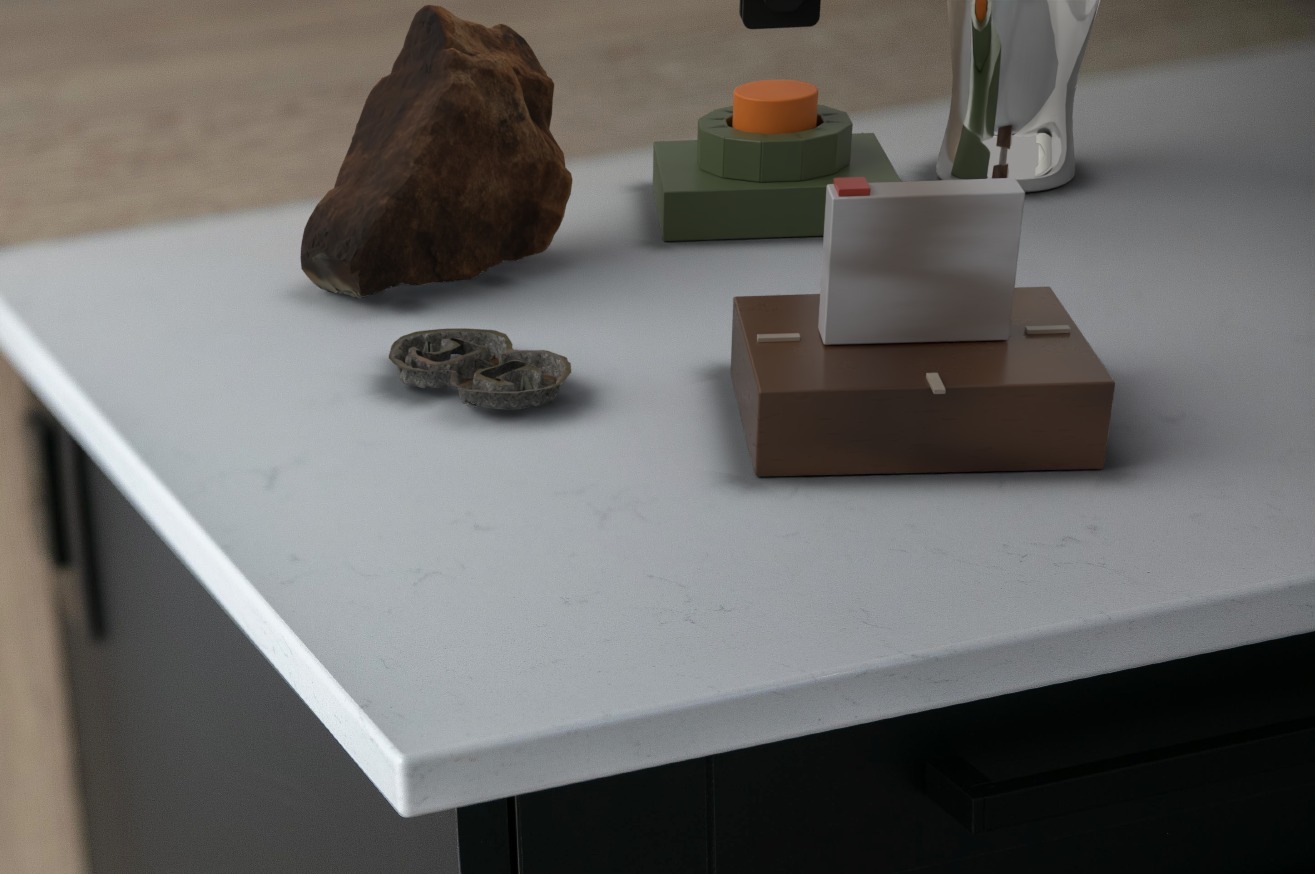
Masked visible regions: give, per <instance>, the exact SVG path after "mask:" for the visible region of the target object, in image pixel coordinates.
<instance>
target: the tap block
mask: <svg viewBox="0 0 1315 874" xmlns="http://www.w3.org/2000/svg"><path fill="white" fill-rule="evenodd" d="M819 306H820V293H804V294H803V293H801V294H771V295H769V294H767V295H743V296H742V295H740V296H733V298H732V323H731V324H732V325H731V326H732V327H731V328H732V329H731V345H730V347H731V349H730V377H731V382H732V385H733V389H734V393H735V397H736V402H737V406H738V411H739V414H740V420H741V423H742V427H743V431H744V435H745V439H746V445H747V447H748V452H749V457H750V460H751V465H752V468H753V473H754V476H755V477H760V478H761V477H799V476H801V477H802V476H841V475H842V476H843V475H847V476H848V475H888V474H889V475H891V474H933V473H935V474H937V473H974V472H975V473H976V472H978V473H979V472H1015V471H1017V472H1019V471H1022V472H1023V471H1054V470H1055V471H1061V470H1062V471H1063V470H1064V471H1065V470H1066V471H1067V470H1068V471H1069V470H1102V469H1104V468H1105V461H1106V455H1107V448H1108V440H1109V433H1110V427H1111V426H1110V425H1111V420H1112V411H1113V404H1114V399H1115V398H1114V397H1115V390H1116V382H1115V379H1114V378H1113V377H1112V375H1111V373H1110V372H1109V371H1108V369H1107V368H1106V367H1105V365H1104V364H1103V362H1102V361H1101V359H1100V358H1099V356H1098V355H1097V353H1096V352H1095V349H1093V347H1092V346H1091V345H1090V343H1089V341H1087V339H1086V337H1085V336H1084V334H1083V333H1082V332H1081V330H1080V328H1079V327H1078V325H1077V324H1076V322H1075V321H1074V320H1073V318H1072V316H1071V315H1070V314H1069V313H1068V311H1067V310H1066V308H1065V306H1064V305H1063V304H1062V302H1061V301H1060V299H1059V298H1058V296H1057V295H1056V293H1055V291H1054V290H1053V289H1052V287H1051V286H1023V287H1022V286H1021V287H1017V286H1016V287H1015V289H1014V298H1013V307H1012V316H1011V325H1010V334H1009V339H1008V340H993V341H954V342H915V343H876V344H838V345H824V343H823V340H822V337H821V334H820V331H819V328H818V322H819Z"/></svg>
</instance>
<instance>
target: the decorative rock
mask: <svg viewBox="0 0 1315 874" xmlns="http://www.w3.org/2000/svg"><path fill="white" fill-rule="evenodd" d="M410 22H411V23H410V25H409V29H408V31H407V33H406V35H405V38H404V42H403V45H402V49H401V50H400V52H399V54H398V56H396V58H395V61H394V62H393V65H392V68H391V72H390V74H388V75H385V76H383V77H381V78H380V79H379V80H378V81H377V82H376V84H375V85H374V86H373V87H372V88H371V90H370V91H369V93H368V94H367V98H366V99H365V102H364V104H363V107H362V109H361V113H360V116H359V117H358V118H359V119H358V121H357V123H356V125H355V129H354V133H353V135H352V137H351V142H350V144H349V147H348V148H347V152H346V154H345V156H344V158H343V161H342V163H341V165H340V168H339V170H338V173H337V176H336V180H335V182H334V185H333V188H331V189H330V190H328V191H327V193H326V194H325V195H324V196H323V197H322V198H321V200H320V201H319V202H318V203H317V204H316V206H315V207H314V209H313V211H312V212H311V214H310V215H309V218H308V219H307V222H306V224H305V226H304V229H303V233H302V239H301V244H300V258H299V259H300V268H301V270H302V271H303V273H304V275H305V276H306V277H307V278H308V279H309V280H310V281H311V282H312V284H314V285H315V286H316V287H318V288H319V289H321V290H324V291H326V292H333V293H335V294H344V295H348V296H350V297H351V298H354V297H356V298H357V299H362V298H363V297H368V296H373V295H375V294H376V293H379V294H381V295H382V294H384V293H385V292H386V290H388V289H391V288H397V287H401V286H412V287H413V286H414V287H415V286H423V285H429V284H432V283H435V284H436V283H440V284H441V283H453V282H459V281H469V280H472V279H475V278H477V277H479V276H480V275H481V274H482V273H483V272H487V271H488V270H489V269H490V268H493V267H495V266H497V265H501V264H503V263H504V262H518V261H520V260H522V259H524V258H528V257H531V256H535V255H538V254H542V253H544V252H545V251H546V250H547V249H548V248H549V247H550V246H551V244H552V242H553V240H554V237H555V235H556V234H557V232H558V230H559V229H560V227H561V224H562V222H563V220H564V217H565V213H566V208H567V205H568V202H569V199H570V197H571V195H572V189H573V188H572V187H573V175H572V172H571V171H570V170H569V169H567V166H566V159H565V158H566V157H565V154H564V151H563V150H562V148H561V146H560V145H559V144H558V142H557V140H556V138H555V137H554V135H553V134H552V131H551V129H550V128H551V122H552V117H553V104H554V103H553V101H554V92H555V83H554V81H553V79H552V77H550V76H549V75H548V73H547V71H546V70H545V68H544V67H543V66H542V64H541V63H540V60H539V59H538V57H537V56H536V54H535V52H534V50H533V49H532V48H531V46H530V44H529V43H528V42H527V40H526V38H524V37H523V36H522V35H521V34H519V33H518V32H517V31H516V30H515V29H513V28H512V27H510V26H509V25H507V24H504V23H497V24H494V25H493V26H491V27H487V26H485V25H483V24H481V23H477V22H474V21H470V20H465V19H461V18H459V17H458V16H456V15H455V14H454V13H453V12H451V11H450V10H448V9H447V8H445V7H443V6H440V5H434V4H426V5H424V6H422V7H421V8H420V9H419V10H417V11H416V12H415V14H414V16H413V18H412V21H410Z"/></svg>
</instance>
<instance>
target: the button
mask: <svg viewBox="0 0 1315 874" xmlns="http://www.w3.org/2000/svg"><path fill="white" fill-rule="evenodd" d="M818 102H819V89H818V87H817V86H816V85H814V84H812V83H810V82H806V81H801V80H794V79H761V80H755V81H750V82H746V83H743V84H740V85H738V86H736V87H735V88H734V89H733V101H732V106H733V126H732V128H734V129H737V130H740V131H743V132H751V133H761V134H779V133H795V132H800V131H805V130H810V129H814V128H816V123H817V106H818V105H819V103H818Z"/></svg>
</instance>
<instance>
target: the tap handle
mask: <svg viewBox="0 0 1315 874" xmlns="http://www.w3.org/2000/svg"><path fill="white" fill-rule="evenodd" d="M1025 197H1026V192H1024V190H1023V189H1022V187H1021V186H1020V185H1019V183H1018V182H1017V180H1016V179H1015V178H997V179H968V180H942V179H940V180H916V181H915V180H914V181H901V182H882V183H868V182H867V180H866V178H865V177H847V178H834V184H828V185H827V189H826V206H825V222H824V236H823V241H822V242H823V243H822V258H821V272H820V273H821V275H820V291H819V294H820V306H819V322H818V328H819V331H820V334H821V337H822V340H823V343H824V345H838V344H876V343H915V342H954V341H993V340H1008V339H1009V334H1010V325H1011V316H1012V307H1013V298H1014V289H1015V288H1016V287H1015V286H1016V279H1017V272H1018V271H1017V269H1018V261H1019V253H1020V252H1019V251H1020V243H1021V235H1022V234H1021V233H1022V225H1023V215H1024V206H1025V199H1026V198H1025Z"/></svg>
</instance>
